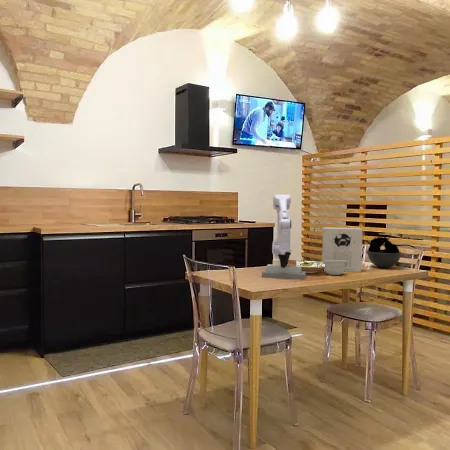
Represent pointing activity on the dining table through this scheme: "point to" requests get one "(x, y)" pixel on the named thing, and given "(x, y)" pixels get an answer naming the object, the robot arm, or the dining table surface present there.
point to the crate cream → (276, 262)
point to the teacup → (335, 266)
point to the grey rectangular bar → (284, 269)
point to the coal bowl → (383, 252)
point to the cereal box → (343, 247)
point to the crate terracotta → (292, 263)
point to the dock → (284, 275)
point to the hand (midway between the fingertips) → (284, 266)
